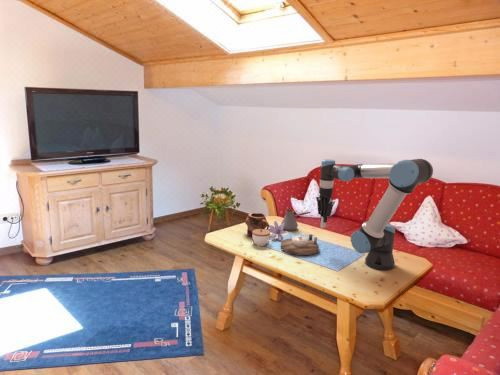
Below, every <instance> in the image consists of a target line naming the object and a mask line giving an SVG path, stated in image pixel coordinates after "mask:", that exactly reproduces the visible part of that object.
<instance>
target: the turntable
mask: <svg viewBox="0 0 500 375" xmlns="http://www.w3.org/2000/svg"><path fill="white" fill-rule="evenodd" d="M307 239H308V241H307V246H305V247H297V246H294V245H292V237H290V238H286V239H283V241H280V249H281V250H282V251H283V252H285V253H288V254H291V255H295V256H296V255H298V256H310V255H313V254H314V255H315V254H316V253H318V252H319V244H318V242H317V241H318V237H316V236H314V238H313V239H312V240H309V238H307Z"/></svg>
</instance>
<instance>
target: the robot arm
mask: <svg viewBox="0 0 500 375" xmlns="http://www.w3.org/2000/svg"><path fill="white" fill-rule="evenodd" d="M433 174H434V168H433V165H432V164H431V162H429V161H428V160H426V159H423V158H414V159H403V160H399V161H397V162H395V163H394V162H393V163H391V162H390V163H369V164H368V163H366V164H365V163H364V164H363V163H359V164H358V163H357V164H350V165H339V164H336V160H334V159H328V158H326V159H322V160H321V164H320V176H319V177H320V179H319V189H318V193H319V196H316V197H315V199H316V203H317V205H316V206H317V214H318V215H320V220H319V221H320V228H321V229H324V228H326V227H327V222H328V217H331V214H332V211H333V207H334V205H335V200H333V198H332V195H333V193H334V183H335V180H338V181H342V182H350V181H351V180H353V179H388V187H387V189H386V191H385V193H383V196H382V197H381V199H380V200H379V202H378V204H377V205H376V207H375V209H374V210H373V211H372V214H370V217H369V219H368V220H367V221H363V222H362V223H361V226H360V227H359V228H358V230H355V231H353V232H352V233H351V236H350V242H351V245H352V247H353V249H354V251H356V252H357V253H359V254H366V256H365V258H364V259H365V260H364V264H365V265H366V266H367V267H368V268H371V269H375V270H379V271H391V270H393V269H394V268H395V265H396V263H395V257H394V254H393V251H394V244H395V236H396V235H395V234H396V227H395V226H394V225H392V224H390V221H391V219H392V218H393V216H394V215H395V213H396V212H397V210H398V209H399V207H400V205H401V204H402V203H403V201H404V199H405V198H406V196H407V195H411V194H412V193H413V192H414V190H415V189H416V188H417V186H419V185H421V184H425V183H427V182H429V181H430V180H431V178H432V177H433Z"/></svg>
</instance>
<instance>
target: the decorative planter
mask: <svg viewBox="0 0 500 375" xmlns="http://www.w3.org/2000/svg"><path fill="white" fill-rule="evenodd" d="M244 223H245V225H246V226H247V230H246V232H247V236H248V237H250V238H253V237H252V231H253V230H256V229H265V230H268V229H270V228H269V225H270V224H269V222H268V220H267V217H266V215H265V214H263V213H260V212H259V213H258V212H257V213H256V212H251V213H249V214H247V217H246V219H245V221H244Z"/></svg>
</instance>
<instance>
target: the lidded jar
mask: <svg viewBox="0 0 500 375" xmlns="http://www.w3.org/2000/svg"><path fill="white" fill-rule="evenodd" d="M270 235H271V232H270V231H268V230H266V228H265V229H256V230H253V231H252V237H251V238H252V241H253V242H254V243H255V245H256V246H260V247H262V246H263V247H264V246H265V245H267V243H268V242H269V241H270V239H269V238H270Z"/></svg>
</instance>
